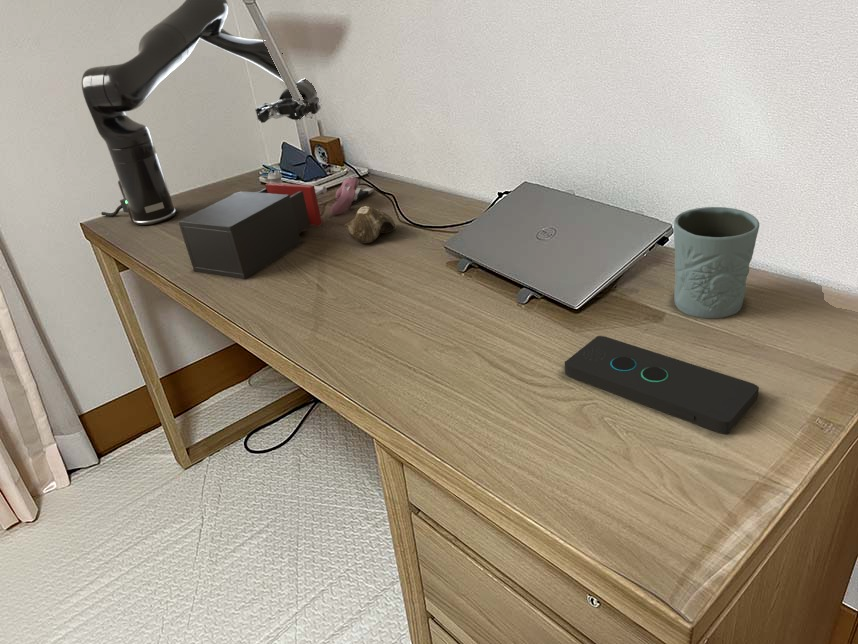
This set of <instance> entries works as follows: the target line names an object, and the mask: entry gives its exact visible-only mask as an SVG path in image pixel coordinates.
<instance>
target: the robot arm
mask: <svg viewBox="0 0 858 644" xmlns="http://www.w3.org/2000/svg"><path fill="white" fill-rule="evenodd" d="M228 13H229V3H228V1H227V0H185V1H183V3H182V4H181V5H180V6H179V7H178V8H177V9H175V10H174V11H173V12H171V13H170V14H169V15H167V16H166V17H165V18H163V19H162V20H161V21H160V22H158V23H157V24H155V25H154V26H152V27H151V28H150V29H149V30H148V31H146V32H145V33H144V34H143V36H141V38H140V40H139V42H138V54H137V55H135V56H134V57H132V58H131V59H130V60H128V61H125V62H123V63H119V64H109V65H102V66H93V67H90V68H87V69H86V70H85V71H84V72H83V74H82V77H81V89H82V90H81V92H82V95H83V98H84V101H85V103H86V106H87V108H88V111H89V114H90V116H91V119H92V120H93V123H94V126H95V128H96V131H97V133H98V134H99V135H100V137H101V138H102V140H103V141H104V142H105V144H106V147H107V150H108V152H109V155H110V158H111V161H112V163H113V166H114V169H115V172H116V175H117V178H118V181H117V184H118V187H119V189H120V192H121V195H122V199H119V202H120V205H118V206H117V207H116V208H115V211H113V212H107V211H102V212H101V216H106V217H114V216H116V215H118V214H119V213H120V210H123V213H128V215H129V218H130V220H131V222H132V223H133V224H134V225H137V226H149V225H155V224H159V223H162V222H165V221H167V220H170V219H171V218H173V217H175V216H176V214H177V211H176V208H175V207H174V203H173V200H172V197H171V193H170V190H169V187H168V184H167V181H166V178H165V174H164V171H163V169H162V166H161V163H160V160H159V156H158V152H157V150H156V146H155V144H154V141H153V138H152V135H151V131H150V129H149V128H148V127H147V126H146V125H145V124H143V123H139V122H138V121H136V120H133V119H132V118H130V117H129V116H128V115H127V113H126V112H131V111H135V110H137V109H138V108H140V107H141V106H142V105H143V104H144V102H146V101H147V99H148V97H149V96H150V95H151V94H152V93H153V91H155V89H156V87H157V86H158V85H159V84H160V83H161V82H162V81H163V80H165V79H166V77H167V76H169V75H170V73H172V72H173V71H175V70H176V69H177V68H178V67H179V66H180V65H181V64H182V63H184V61H186V59H187V58H188V57H189V56H190V55H191V53H192V52H193V50H194V49H195V47H196V45H197V44H198V42H199V40H201V41H204V42H206V43H207V44H209V45H212V46H215V47H217V48H219V49H221V50H223V51H225V52H228V53H230V54H232V55H235V56H237V57H239V58H241V59H244V60H246V61H248V62H250V63H252V64H254V65H256V66H258V67H259V68H261V69H262V70H264V71H265V72H268V73H269V74H271V75H272V76H274V77H275V78H277V79H279V80H280V81H282V82H284V81H283V80H282V78H281V76H280V74H279V72H278V70H277V68H276V66H275V64H274V62H273V60H272V58H271V56H270V54H269V52H268V49H267V47H266V46H265V44H264V42H263V40H264V39H254V38H253V39H252V38H244V37H239V36H236V35H234V34H232V33H230V32H228V31H226V30H225V29H223V26H224V24H225V21H226V19H227V16H228ZM282 54H283V53H282ZM295 83H296V85H297V88H298V90H299V92H300V94H301V95H302V97H303V99H304V100H300V99H299V100H294V99H293V98H292V96H291V94H290V92H289V90H288V87H287V88H286V89H284V90H283V91H282V92H281V93H280V95H279V99H278V100H277V101H274V102H271V103H268V102H264V103H262V104H261V105H259V106H257V107H256V108H255V109H254V110H255V114H256V117H257V120H258V122H260V123H261V124H262V123H266V122H268V120H271V119H275V120H278V119H281V118H288V119H290V120H294V121H299V120H302V119H303V118H302V117H303V116H304V115H305V117H307V116H309V114H310V113H311V114H312V115H316V114H318V112H319V111H320V110H321V109H322V108H321V105H320V102H319V98H318V97H317V92H316V90H315V88H314V86H313V85H312V83H310V82H309V81H308V80H306V79H305V78H302V79H300V80H299V81H297V82H295ZM309 112H310V113H309ZM308 113H309V114H308ZM301 118H302V119H301ZM298 119H299V120H298Z"/></svg>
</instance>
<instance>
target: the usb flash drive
mask: <svg viewBox="0 0 858 644" xmlns="http://www.w3.org/2000/svg"><path fill="white" fill-rule="evenodd" d="M373 192H375V190H374V188H370V187H366V188H365V189H363V190H362V187H357V189H356V191H355V195H356V196H357V200H356V201H355V200H353V202H352V204H351V205H354V204H356V203H357V202H359V201H360V200H363V199H364V198H366V197H368V196H370V194H371V193H373Z"/></svg>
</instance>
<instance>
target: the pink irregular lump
mask: <svg viewBox="0 0 858 644" xmlns="http://www.w3.org/2000/svg"><path fill="white" fill-rule="evenodd" d="M358 182H359V178H357V177H355V176H351V177H350V176H348V177H347V178H346V179H344V180H343V182H342V183H341V185H340V187H339V188H338V189H337V190H336V191H335V198H336V200H335V202H334V203H333V204H332V205H331V208H330V213H331V214H332V215H333V216H338V215H341V214H343V213H344V212H345V211H346V210H350V209H351V208H352V207H351V206H352V205H353V204H352V202H353V200H355V201H356V200H357V196H356V195H355V191H356V189H357V188H358V186H359V184H358Z"/></svg>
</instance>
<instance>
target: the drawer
mask: <svg viewBox="0 0 858 644" xmlns="http://www.w3.org/2000/svg"><path fill="white" fill-rule="evenodd" d="M327 190H328V189H327V187H326V186H325V185H313V184H312V185H311V184H296V183H282V184H281V183H271V182H268V183H266V184H265V188H262V189H260V190H258V191H256V192H257V193H271V194H285V195H290V199H291V203H292V207H293V211H294V215H295V220H296V224H297V228H298V232H299V234H301V233H302V232H304V231H305V230H307V229H309V228H311V226H321V225H322V224H323V220H322V215H321V212H320V207H319V202H318V198H317V196H319V195H320V194H326V193H327V192H328V191H327Z"/></svg>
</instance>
